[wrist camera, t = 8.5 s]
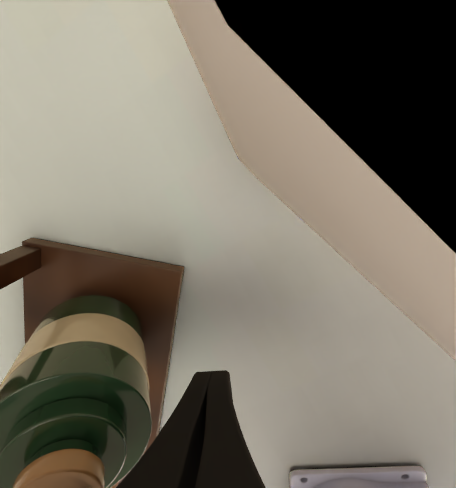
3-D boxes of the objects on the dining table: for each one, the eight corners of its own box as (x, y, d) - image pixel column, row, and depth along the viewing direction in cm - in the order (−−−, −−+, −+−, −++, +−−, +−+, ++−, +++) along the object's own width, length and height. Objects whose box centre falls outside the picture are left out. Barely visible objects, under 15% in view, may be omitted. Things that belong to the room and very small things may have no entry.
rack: (31, 237, 16) (-85, 279, 10) (184, 266, 16) (154, 323, 10) (36, 477, 22) (-37, 591, 16) (148, 498, 22) (116, 618, 16)
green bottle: (133, 283, 16) (140, 391, 8) (151, 367, 17) (172, 525, 9) (16, 309, 14) (-124, 479, 6) (48, 399, 15) (-31, 625, 8)
